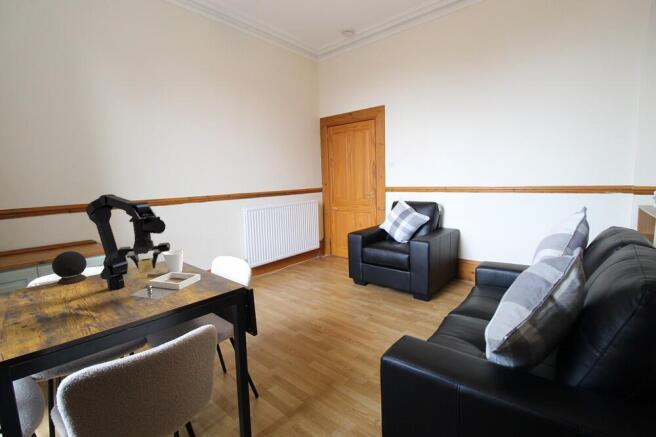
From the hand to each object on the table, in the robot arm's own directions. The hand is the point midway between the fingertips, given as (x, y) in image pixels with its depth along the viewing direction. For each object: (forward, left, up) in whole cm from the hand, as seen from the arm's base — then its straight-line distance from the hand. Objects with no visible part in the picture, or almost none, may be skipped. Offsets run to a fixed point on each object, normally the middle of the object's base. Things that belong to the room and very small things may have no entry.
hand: (147, 269), depth 131 cm
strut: (+2, -3, -1) cm, 3 cm away
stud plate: (+1, 0, -11) cm, 11 cm away
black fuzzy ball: (-56, +5, -12) cm, 57 cm away
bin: (+1, +13, -11) cm, 17 cm away
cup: (-13, +27, -11) cm, 32 cm away
